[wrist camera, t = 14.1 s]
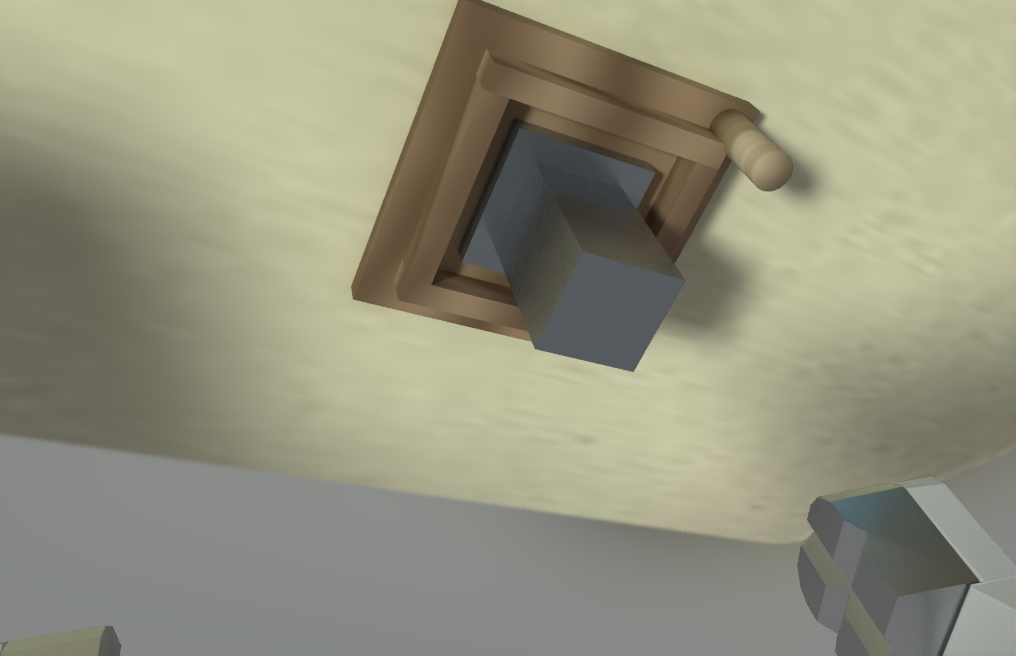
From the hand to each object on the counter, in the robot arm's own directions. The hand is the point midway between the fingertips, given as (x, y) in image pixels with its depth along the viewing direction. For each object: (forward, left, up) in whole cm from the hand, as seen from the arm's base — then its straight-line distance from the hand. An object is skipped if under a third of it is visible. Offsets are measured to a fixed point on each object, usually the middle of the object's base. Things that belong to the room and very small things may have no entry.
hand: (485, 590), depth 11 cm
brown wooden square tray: (+9, -13, -33) cm, 37 cm away
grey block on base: (+9, -13, -32) cm, 35 cm away
